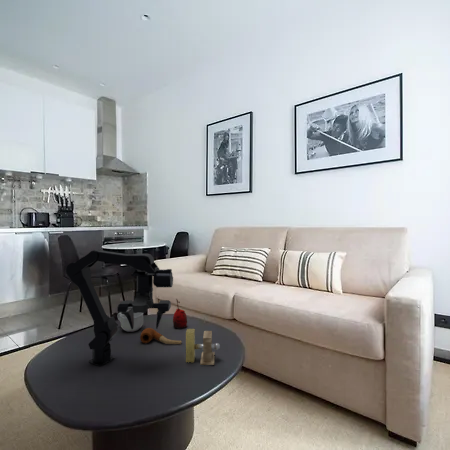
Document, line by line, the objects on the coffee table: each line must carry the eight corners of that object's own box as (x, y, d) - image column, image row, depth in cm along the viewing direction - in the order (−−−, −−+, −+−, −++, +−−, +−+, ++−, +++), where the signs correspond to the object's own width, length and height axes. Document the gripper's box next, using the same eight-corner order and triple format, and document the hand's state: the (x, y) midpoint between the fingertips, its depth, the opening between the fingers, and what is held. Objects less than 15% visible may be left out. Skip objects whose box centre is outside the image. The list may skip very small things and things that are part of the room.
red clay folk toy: (190, 326, 139) (190, 296, 139) (179, 330, 134) (179, 299, 134) (180, 323, 144) (179, 294, 144) (169, 327, 139) (169, 297, 139)
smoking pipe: (144, 338, 126) (144, 325, 126) (184, 339, 124) (184, 326, 124) (138, 344, 119) (138, 331, 119) (180, 346, 117) (180, 332, 117)
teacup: (148, 328, 137) (148, 312, 138) (130, 335, 128) (130, 318, 128) (129, 323, 145) (129, 307, 145) (111, 329, 136) (111, 313, 136)
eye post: (200, 365, 100) (200, 339, 101) (201, 354, 109) (201, 329, 110) (214, 365, 101) (213, 339, 101) (214, 354, 110) (214, 329, 110)
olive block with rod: (185, 362, 103) (185, 332, 103) (187, 357, 107) (187, 328, 107) (220, 362, 103) (220, 332, 103) (220, 357, 107) (220, 328, 107)
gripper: (111, 292, 96) (111, 337, 96) (165, 292, 97) (165, 337, 97) (122, 285, 107) (122, 326, 107) (171, 285, 108) (171, 325, 108)
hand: (144, 328), depth 105 cm, fingers open, 9 cm apart
